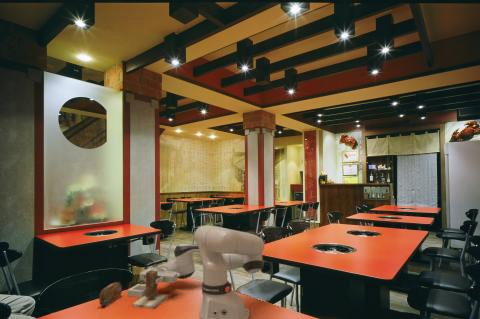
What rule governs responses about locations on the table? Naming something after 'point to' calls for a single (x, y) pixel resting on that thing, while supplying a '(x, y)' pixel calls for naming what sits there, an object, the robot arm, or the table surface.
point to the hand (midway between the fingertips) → (150, 281)
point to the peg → (151, 284)
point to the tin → (110, 294)
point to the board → (150, 301)
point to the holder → (137, 291)
